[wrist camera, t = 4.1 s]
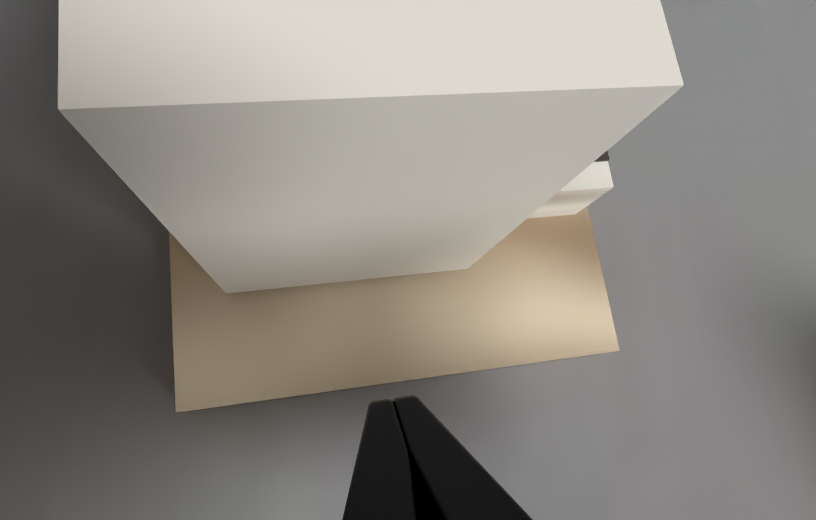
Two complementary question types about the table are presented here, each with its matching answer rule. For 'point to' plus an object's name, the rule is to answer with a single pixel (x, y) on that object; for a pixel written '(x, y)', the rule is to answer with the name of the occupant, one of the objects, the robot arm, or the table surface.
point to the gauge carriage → (354, 121)
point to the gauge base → (399, 315)
